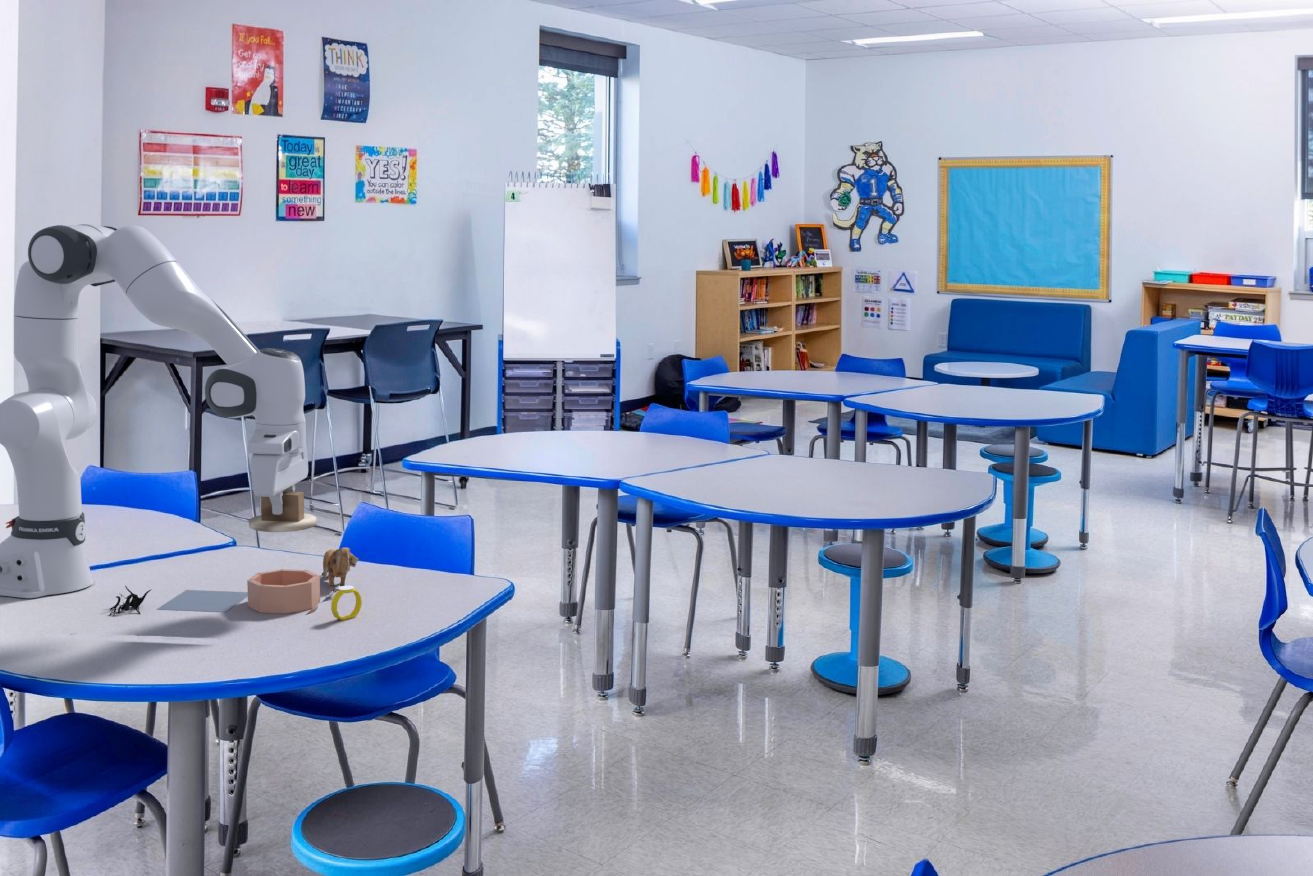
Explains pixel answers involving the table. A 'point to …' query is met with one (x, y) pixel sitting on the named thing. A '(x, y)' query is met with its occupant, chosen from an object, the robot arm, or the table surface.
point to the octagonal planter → (284, 591)
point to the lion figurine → (338, 564)
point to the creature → (134, 602)
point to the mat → (205, 601)
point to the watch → (337, 596)
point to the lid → (283, 515)
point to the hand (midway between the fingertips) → (282, 511)
